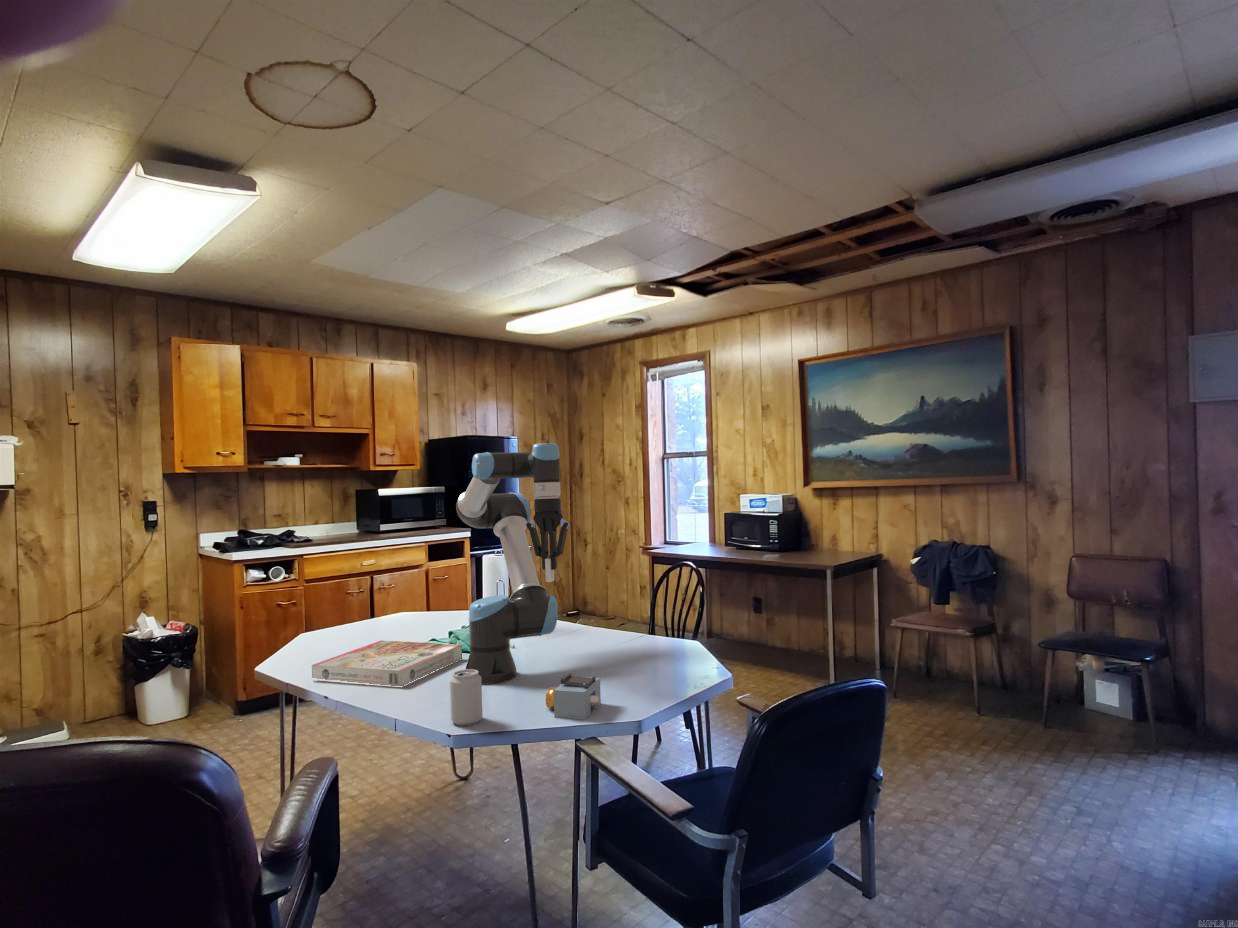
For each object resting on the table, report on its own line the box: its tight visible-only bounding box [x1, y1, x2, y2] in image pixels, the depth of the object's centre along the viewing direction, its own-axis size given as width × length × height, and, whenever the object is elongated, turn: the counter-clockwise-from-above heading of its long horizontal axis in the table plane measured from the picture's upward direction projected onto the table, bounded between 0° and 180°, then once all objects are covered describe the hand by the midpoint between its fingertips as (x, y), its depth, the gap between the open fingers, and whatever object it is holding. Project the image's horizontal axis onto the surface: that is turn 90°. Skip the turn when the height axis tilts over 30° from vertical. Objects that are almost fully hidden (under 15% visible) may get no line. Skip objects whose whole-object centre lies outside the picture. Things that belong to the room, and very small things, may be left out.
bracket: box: [553, 676, 602, 720], centre depth 175 cm, size 8×12×6 cm, turn 163°
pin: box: [545, 687, 600, 709], centre depth 176 cm, size 13×5×5 cm, turn 73°
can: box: [449, 668, 483, 726], centre depth 170 cm, size 8×8×12 cm
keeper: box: [560, 672, 597, 688], centre depth 175 cm, size 7×7×1 cm
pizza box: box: [311, 640, 463, 686], centre depth 220 cm, size 32×5×32 cm
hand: (550, 581), depth 197 cm, fingers closed
